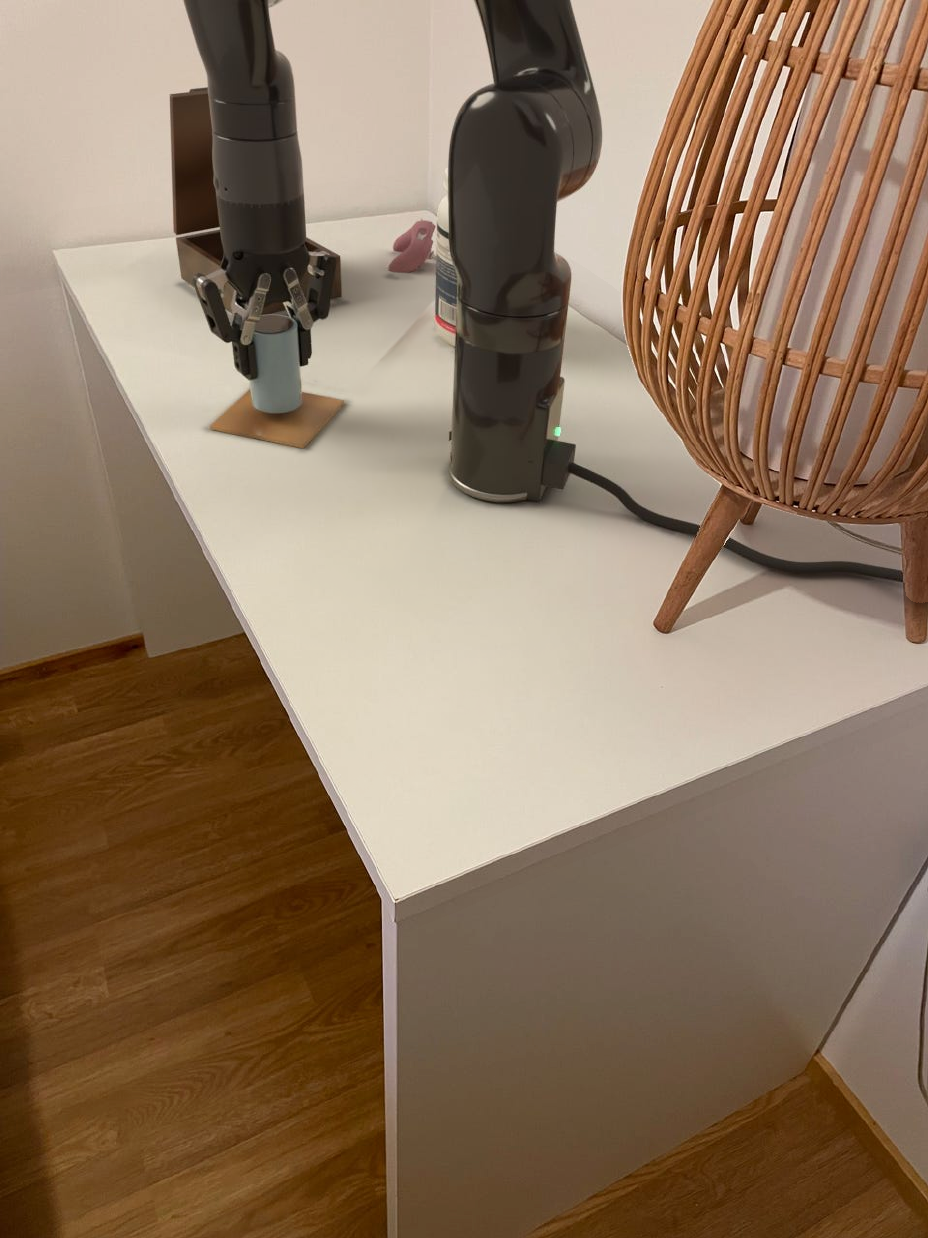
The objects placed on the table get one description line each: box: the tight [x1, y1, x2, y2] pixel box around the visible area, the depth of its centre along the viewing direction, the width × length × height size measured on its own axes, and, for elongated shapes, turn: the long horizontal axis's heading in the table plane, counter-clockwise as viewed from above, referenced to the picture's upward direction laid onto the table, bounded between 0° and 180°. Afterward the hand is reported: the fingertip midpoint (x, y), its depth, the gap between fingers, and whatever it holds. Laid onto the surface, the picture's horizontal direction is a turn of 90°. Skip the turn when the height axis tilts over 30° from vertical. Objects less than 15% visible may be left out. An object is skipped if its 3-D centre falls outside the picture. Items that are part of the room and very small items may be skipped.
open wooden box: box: [175, 228, 343, 315], centre depth 120 cm, size 16×14×6 cm
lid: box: [169, 86, 220, 236], centre depth 117 cm, size 17×14×5 cm
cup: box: [248, 313, 303, 413], centre depth 95 cm, size 5×5×8 cm
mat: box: [209, 389, 345, 449], centre depth 98 cm, size 10×10×1 cm
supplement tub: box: [434, 166, 458, 348], centre depth 109 cm, size 13×13×18 cm
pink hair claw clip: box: [388, 217, 436, 273], centre depth 130 cm, size 10×5×7 cm, turn 179°
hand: (274, 368), depth 95 cm, fingers closed on cup, 5 cm apart
